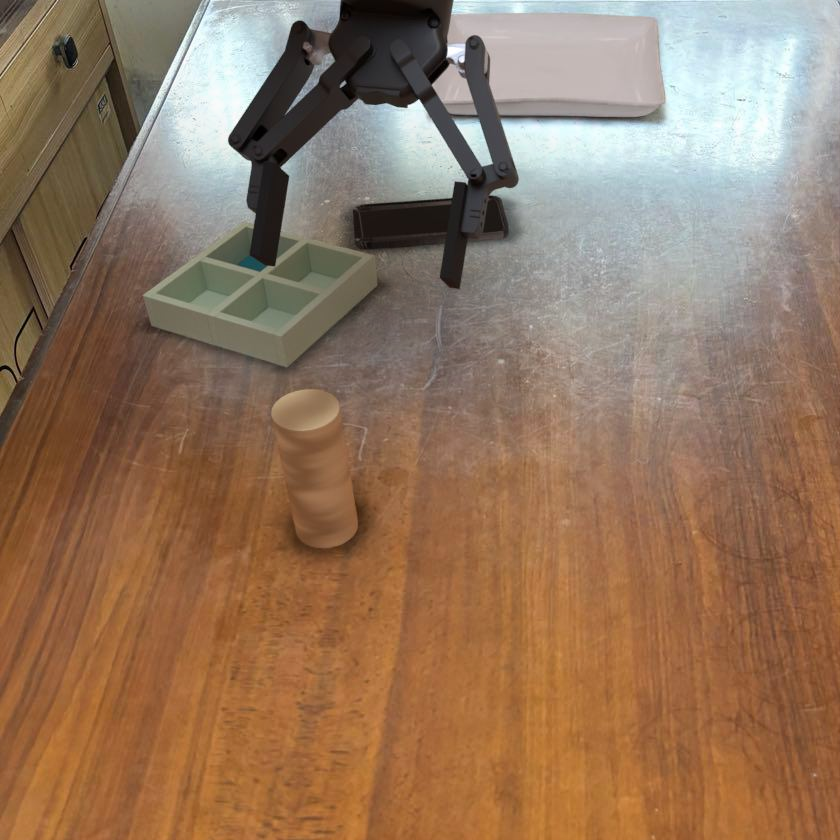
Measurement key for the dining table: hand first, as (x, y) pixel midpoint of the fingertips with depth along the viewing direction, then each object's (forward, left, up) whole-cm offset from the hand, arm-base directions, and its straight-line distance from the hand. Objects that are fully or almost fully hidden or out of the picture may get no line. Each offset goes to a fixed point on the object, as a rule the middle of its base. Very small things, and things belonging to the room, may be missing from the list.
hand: (354, 272), depth 76 cm
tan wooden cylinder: (+2, -10, -15) cm, 18 cm away
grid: (-19, +12, -15) cm, 27 cm away
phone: (-13, +31, -15) cm, 36 cm away
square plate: (-18, +69, -15) cm, 73 cm away
